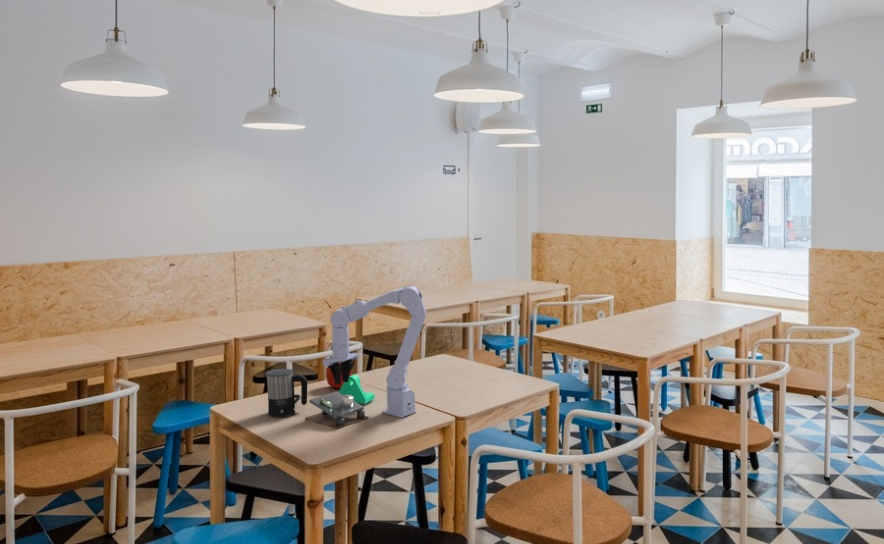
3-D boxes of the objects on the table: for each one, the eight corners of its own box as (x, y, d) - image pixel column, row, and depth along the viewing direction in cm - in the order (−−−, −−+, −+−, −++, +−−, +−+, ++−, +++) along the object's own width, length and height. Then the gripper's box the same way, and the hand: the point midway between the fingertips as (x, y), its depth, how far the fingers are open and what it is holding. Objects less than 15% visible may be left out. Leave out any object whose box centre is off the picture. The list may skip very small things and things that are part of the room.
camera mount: (375, 400, 244) (375, 373, 243) (365, 406, 237) (365, 378, 236) (347, 397, 249) (346, 370, 248) (336, 403, 242) (335, 375, 241)
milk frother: (272, 419, 224) (270, 376, 222) (257, 408, 237) (255, 367, 235) (312, 412, 231) (311, 370, 230) (295, 401, 244) (294, 361, 243)
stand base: (369, 418, 223) (368, 410, 223) (337, 429, 213) (336, 421, 212) (337, 409, 234) (336, 401, 234) (305, 419, 223) (304, 411, 223)
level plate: (363, 409, 223) (365, 398, 222) (336, 418, 214) (337, 407, 213) (336, 394, 232) (338, 383, 231) (309, 402, 223) (310, 391, 222)
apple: (325, 385, 266) (324, 356, 264) (350, 383, 268) (350, 355, 267) (326, 392, 256) (326, 362, 255) (353, 390, 258) (352, 360, 257)
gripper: (348, 339, 236) (349, 376, 238) (316, 346, 225) (317, 385, 227) (362, 341, 232) (363, 379, 233) (330, 348, 221) (331, 388, 222)
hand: (341, 382), depth 229 cm, fingers open, 3 cm apart
